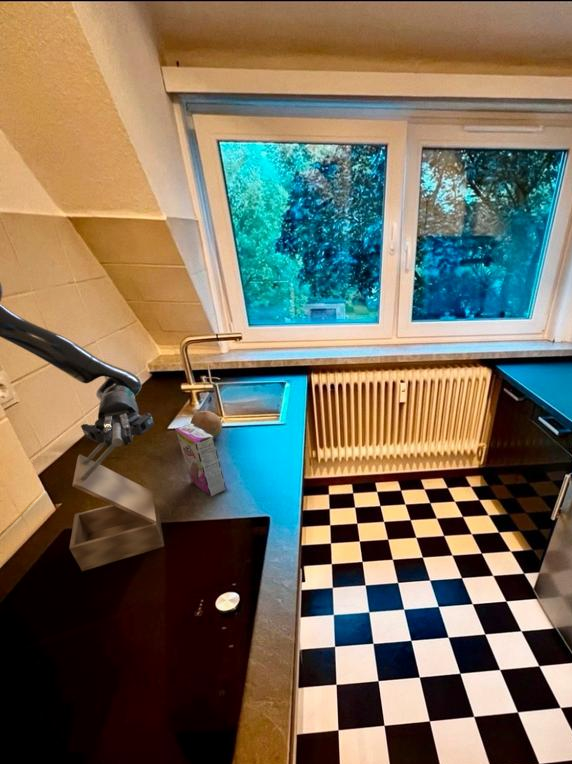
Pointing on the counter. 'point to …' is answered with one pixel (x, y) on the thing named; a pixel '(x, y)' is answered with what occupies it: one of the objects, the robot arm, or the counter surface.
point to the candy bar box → (201, 459)
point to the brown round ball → (208, 422)
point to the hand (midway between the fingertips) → (118, 442)
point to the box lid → (113, 482)
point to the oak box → (112, 536)
